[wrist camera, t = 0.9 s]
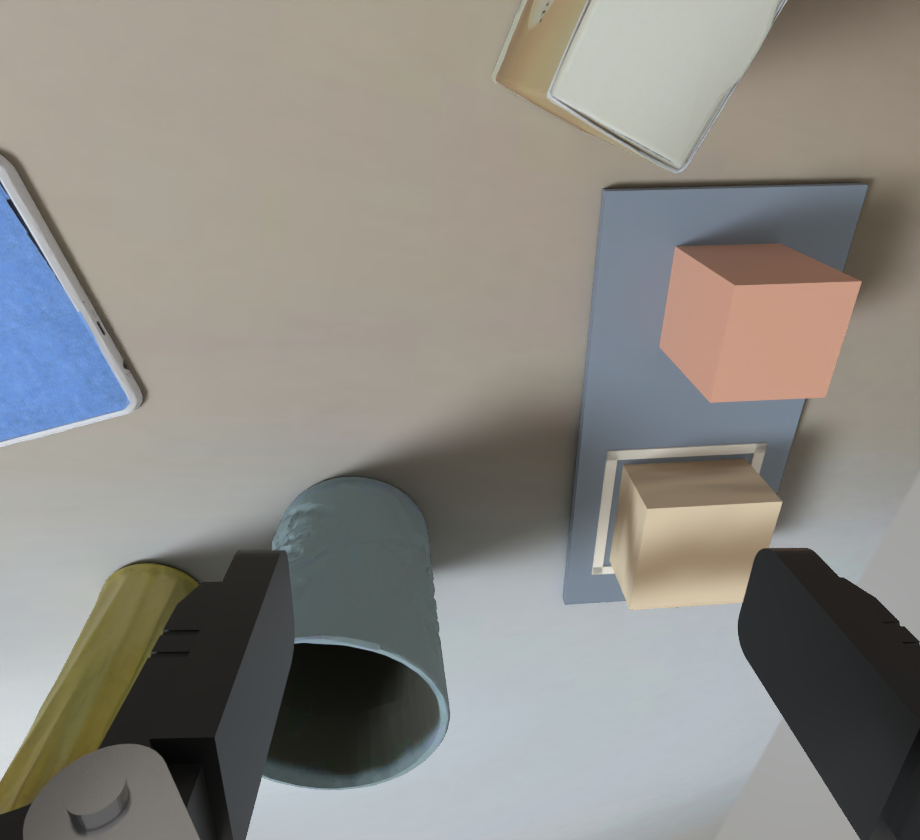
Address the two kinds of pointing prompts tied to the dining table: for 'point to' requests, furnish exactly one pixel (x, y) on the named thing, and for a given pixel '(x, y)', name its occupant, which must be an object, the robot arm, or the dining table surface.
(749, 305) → the terracotta block
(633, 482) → the oak base block
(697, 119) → the skincare box
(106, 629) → the vase
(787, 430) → the board
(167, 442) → the dining table surface
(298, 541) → the grey-green pot
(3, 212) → the tablet computer
